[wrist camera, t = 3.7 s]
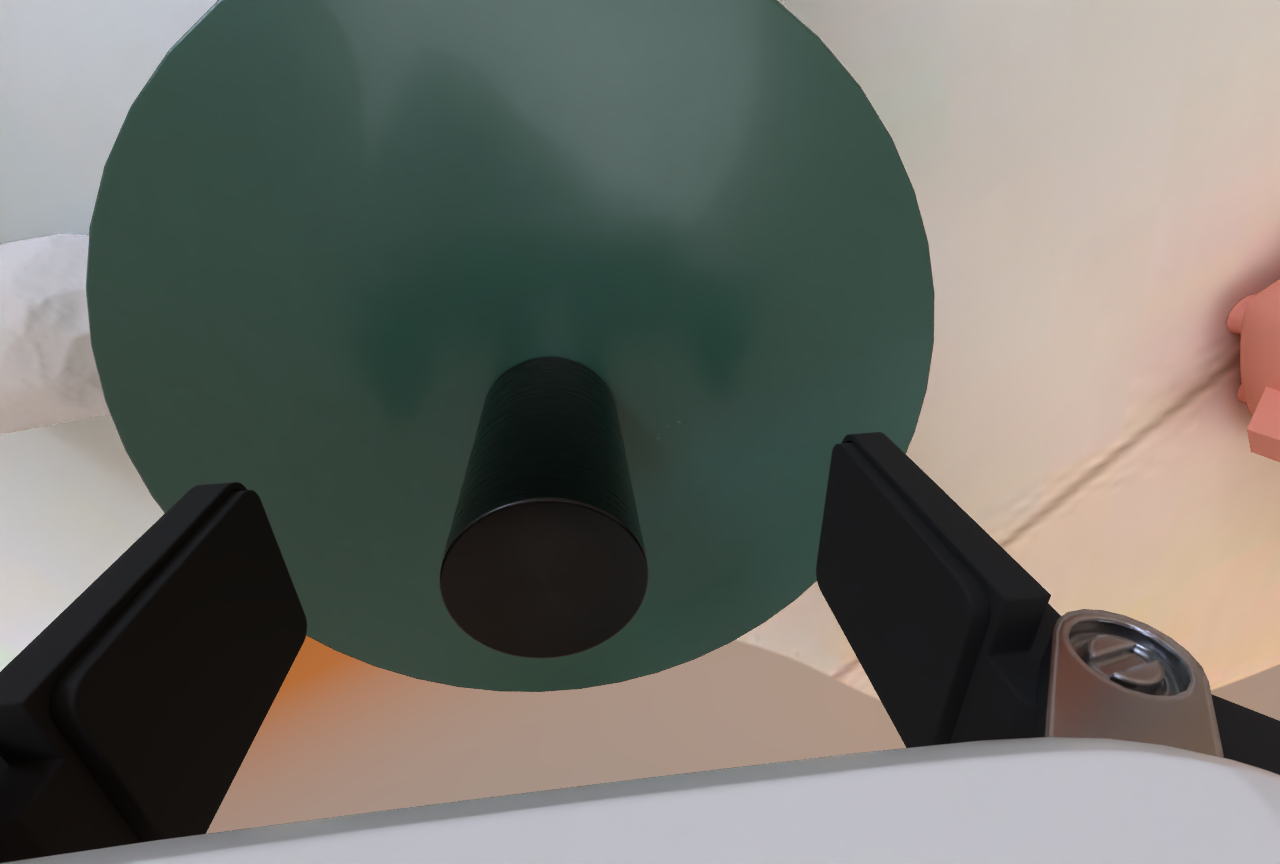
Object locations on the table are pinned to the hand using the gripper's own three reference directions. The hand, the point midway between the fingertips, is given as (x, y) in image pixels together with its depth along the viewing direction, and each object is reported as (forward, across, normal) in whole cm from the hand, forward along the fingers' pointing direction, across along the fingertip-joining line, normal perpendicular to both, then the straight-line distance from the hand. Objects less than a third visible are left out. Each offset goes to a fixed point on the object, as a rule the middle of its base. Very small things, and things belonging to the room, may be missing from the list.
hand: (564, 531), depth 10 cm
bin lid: (+5, 0, 0) cm, 5 cm away
